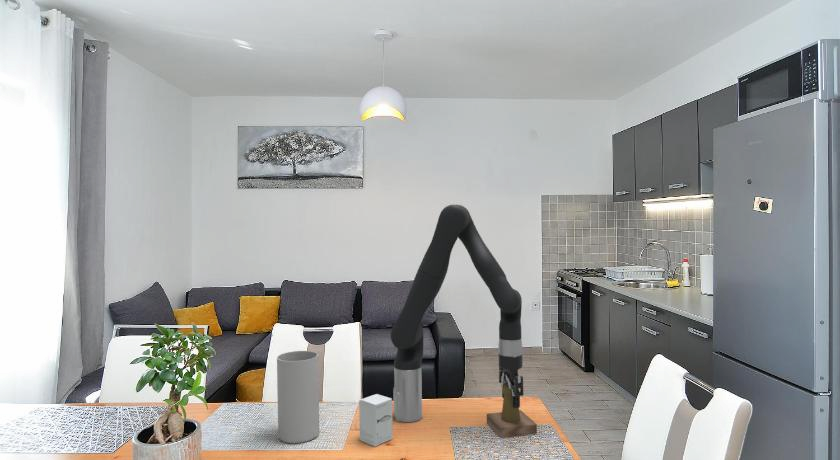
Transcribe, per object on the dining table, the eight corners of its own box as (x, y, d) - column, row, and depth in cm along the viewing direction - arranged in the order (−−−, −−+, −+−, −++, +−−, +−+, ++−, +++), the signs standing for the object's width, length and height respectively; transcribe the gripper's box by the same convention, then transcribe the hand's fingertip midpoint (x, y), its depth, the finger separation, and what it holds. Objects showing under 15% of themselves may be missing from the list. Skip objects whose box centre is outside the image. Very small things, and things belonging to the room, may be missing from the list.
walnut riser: (500, 437, 156) (500, 428, 155) (486, 422, 167) (486, 413, 167) (536, 433, 158) (536, 424, 158) (520, 419, 170) (520, 410, 170)
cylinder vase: (327, 431, 162) (326, 353, 162) (302, 447, 151) (301, 363, 150) (295, 425, 167) (294, 349, 167) (269, 440, 156) (268, 358, 156)
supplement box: (375, 447, 150) (374, 404, 150) (358, 440, 155) (358, 399, 155) (393, 439, 155) (392, 398, 155) (377, 432, 161) (376, 392, 160)
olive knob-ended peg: (520, 423, 159) (519, 388, 159) (500, 422, 160) (500, 387, 160) (520, 416, 165) (520, 382, 165) (501, 414, 166) (501, 381, 166)
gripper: (491, 347, 168) (491, 396, 169) (507, 359, 154) (508, 412, 155) (512, 346, 170) (513, 394, 170) (530, 357, 156) (531, 409, 156)
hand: (510, 402), depth 163 cm, fingers open, 8 cm apart
